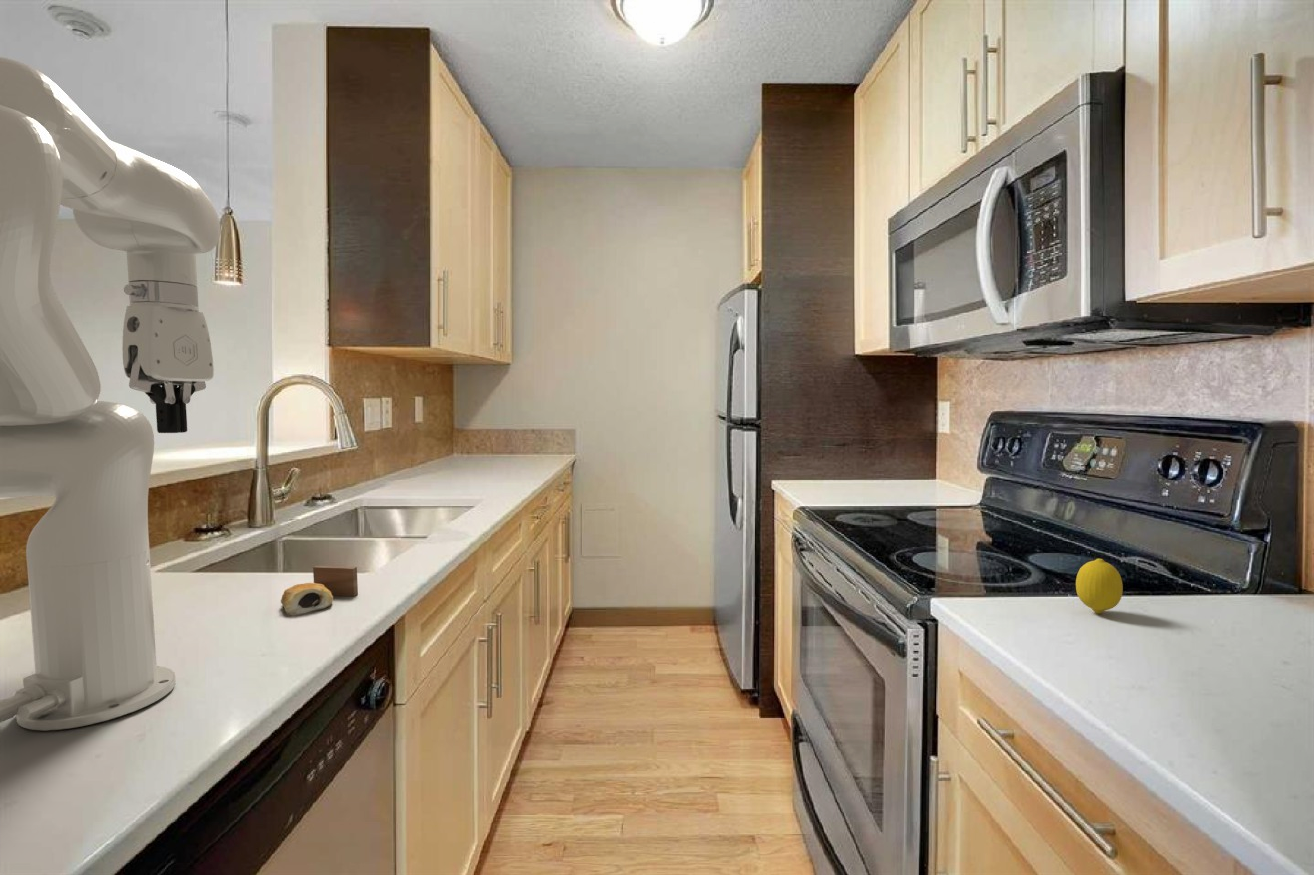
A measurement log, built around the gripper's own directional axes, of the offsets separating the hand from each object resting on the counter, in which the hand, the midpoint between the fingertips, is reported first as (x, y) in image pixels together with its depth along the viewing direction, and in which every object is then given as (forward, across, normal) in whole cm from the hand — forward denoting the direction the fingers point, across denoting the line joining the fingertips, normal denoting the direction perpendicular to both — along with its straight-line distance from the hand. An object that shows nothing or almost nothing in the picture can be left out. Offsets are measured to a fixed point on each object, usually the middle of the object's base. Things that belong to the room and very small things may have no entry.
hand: (172, 432), depth 89 cm
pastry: (+28, +9, -12) cm, 32 cm away
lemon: (+27, +20, -129) cm, 133 cm away
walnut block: (+27, +14, -14) cm, 34 cm away
